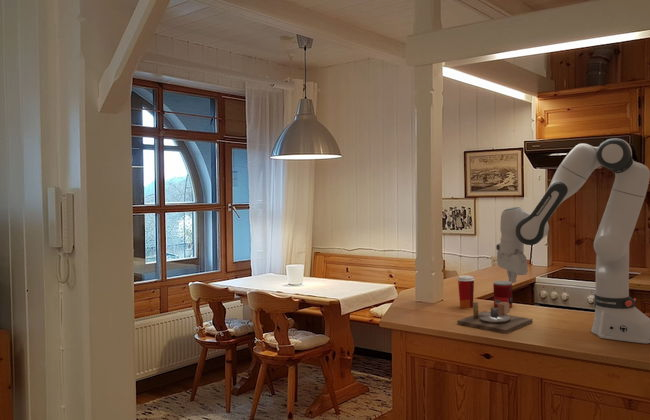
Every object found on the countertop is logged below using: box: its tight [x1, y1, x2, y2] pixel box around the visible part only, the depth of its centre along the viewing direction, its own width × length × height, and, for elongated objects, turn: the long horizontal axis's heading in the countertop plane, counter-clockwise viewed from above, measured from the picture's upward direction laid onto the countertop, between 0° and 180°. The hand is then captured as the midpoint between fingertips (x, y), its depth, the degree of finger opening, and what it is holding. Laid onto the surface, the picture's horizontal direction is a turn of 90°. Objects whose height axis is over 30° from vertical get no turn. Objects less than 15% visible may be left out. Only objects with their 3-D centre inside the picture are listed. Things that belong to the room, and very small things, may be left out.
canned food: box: [492, 280, 513, 309], centre depth 261 cm, size 8×8×11 cm
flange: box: [479, 302, 511, 323], centre depth 235 cm, size 15×12×5 cm
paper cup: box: [456, 274, 476, 309], centre depth 262 cm, size 8×8×14 cm
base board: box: [456, 301, 533, 335], centre depth 234 cm, size 22×20×8 cm
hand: (512, 282), depth 232 cm, fingers closed
